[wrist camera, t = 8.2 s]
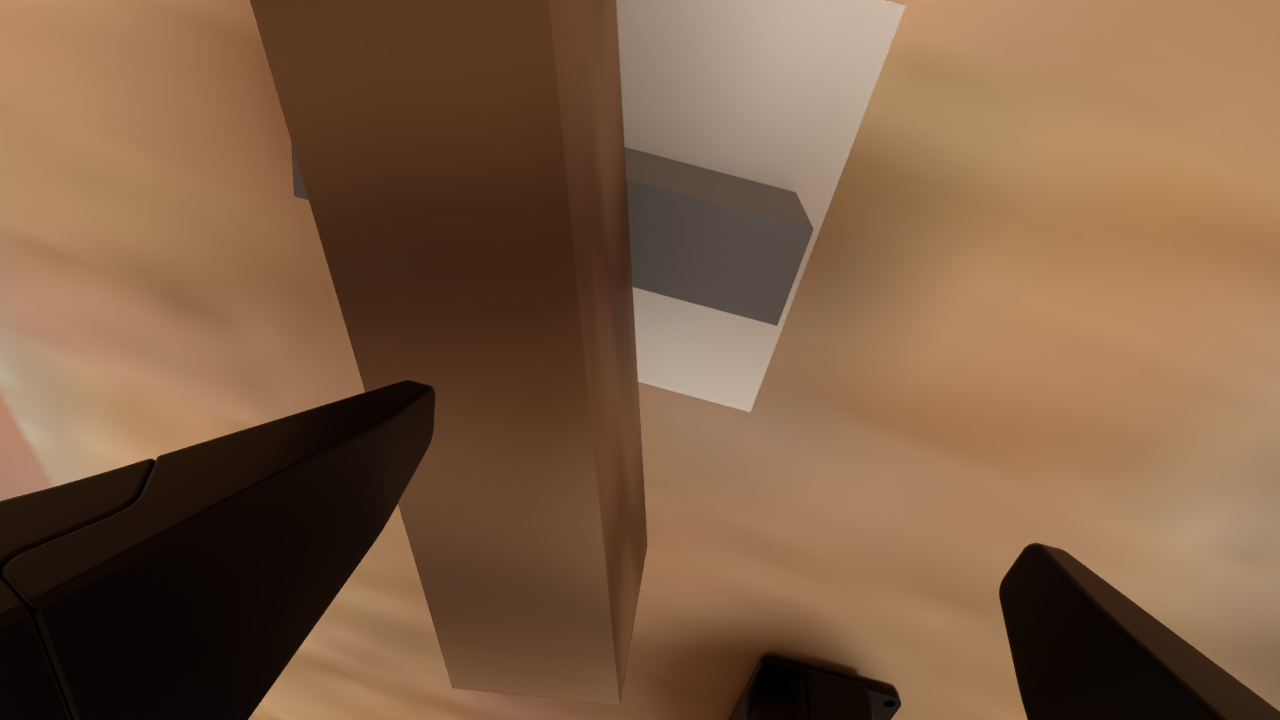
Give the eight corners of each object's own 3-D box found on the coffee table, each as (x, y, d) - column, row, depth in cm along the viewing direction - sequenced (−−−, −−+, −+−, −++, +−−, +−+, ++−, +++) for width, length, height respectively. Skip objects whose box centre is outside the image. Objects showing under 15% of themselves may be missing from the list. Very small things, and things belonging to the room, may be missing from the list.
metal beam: (647, 544, 18) (620, 705, 13) (519, 536, 18) (452, 688, 14) (589, -465, 9) (450, -978, 4) (343, -420, 9) (6, -835, 5)
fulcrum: (748, 389, 21) (754, 488, 16) (373, 288, 21) (268, 356, 17) (891, 10, 16) (963, -11, 11) (379, -124, 16) (223, -203, 11)
